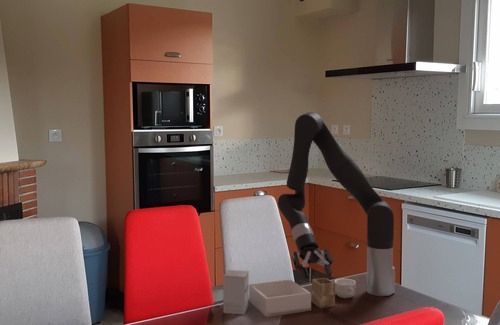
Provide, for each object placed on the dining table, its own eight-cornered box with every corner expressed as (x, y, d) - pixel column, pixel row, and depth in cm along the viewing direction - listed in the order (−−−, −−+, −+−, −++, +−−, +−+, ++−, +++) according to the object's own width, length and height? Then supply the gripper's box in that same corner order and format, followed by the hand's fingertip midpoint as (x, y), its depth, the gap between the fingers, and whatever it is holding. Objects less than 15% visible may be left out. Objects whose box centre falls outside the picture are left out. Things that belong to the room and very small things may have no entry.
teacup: (330, 294, 184) (330, 279, 184) (349, 292, 186) (349, 277, 186) (343, 302, 175) (343, 287, 174) (362, 300, 177) (363, 285, 176)
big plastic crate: (290, 295, 182) (290, 279, 182) (310, 310, 167) (311, 293, 167) (249, 301, 177) (249, 284, 176) (266, 317, 162) (266, 298, 161)
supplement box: (244, 314, 164) (244, 276, 163) (222, 313, 165) (222, 275, 165) (249, 307, 171) (249, 270, 170) (228, 305, 173) (227, 269, 172)
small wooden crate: (325, 299, 178) (325, 277, 177) (334, 305, 172) (335, 282, 171) (311, 301, 176) (311, 279, 176) (320, 308, 170) (320, 284, 169)
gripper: (289, 234, 181) (303, 273, 171) (325, 231, 186) (340, 269, 176) (283, 245, 186) (297, 284, 176) (318, 242, 191) (332, 280, 181)
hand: (318, 277), depth 176 cm, fingers open, 8 cm apart
